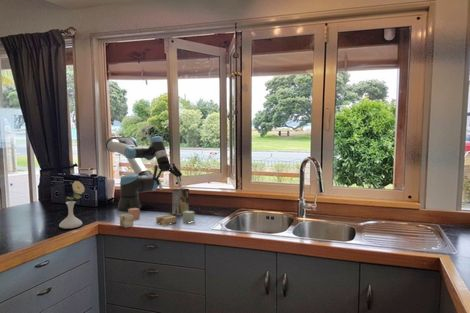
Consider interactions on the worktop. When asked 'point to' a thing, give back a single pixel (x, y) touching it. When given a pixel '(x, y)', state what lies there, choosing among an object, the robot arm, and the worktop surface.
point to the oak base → (165, 219)
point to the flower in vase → (71, 219)
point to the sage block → (188, 216)
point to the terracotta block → (134, 213)
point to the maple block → (126, 220)
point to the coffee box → (180, 201)
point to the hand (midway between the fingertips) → (171, 187)
